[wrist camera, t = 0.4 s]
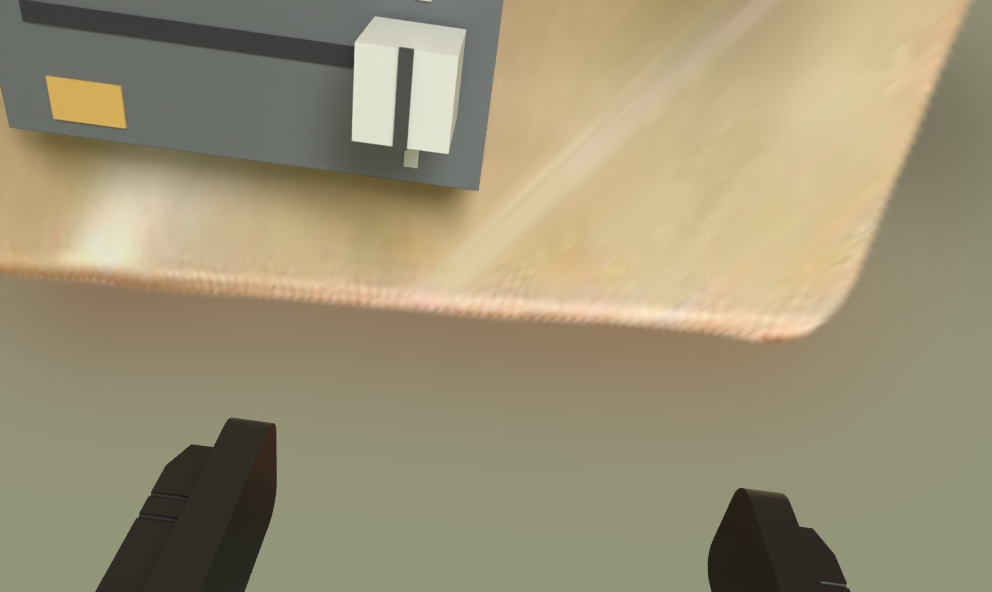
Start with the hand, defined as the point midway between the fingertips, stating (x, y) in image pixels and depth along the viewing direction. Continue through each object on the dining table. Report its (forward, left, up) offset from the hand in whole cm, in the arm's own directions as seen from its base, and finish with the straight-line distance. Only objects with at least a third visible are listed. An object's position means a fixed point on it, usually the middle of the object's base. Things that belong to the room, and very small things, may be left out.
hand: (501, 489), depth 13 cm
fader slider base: (-1, -11, -24) cm, 26 cm away
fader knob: (-1, -4, -20) cm, 21 cm away
